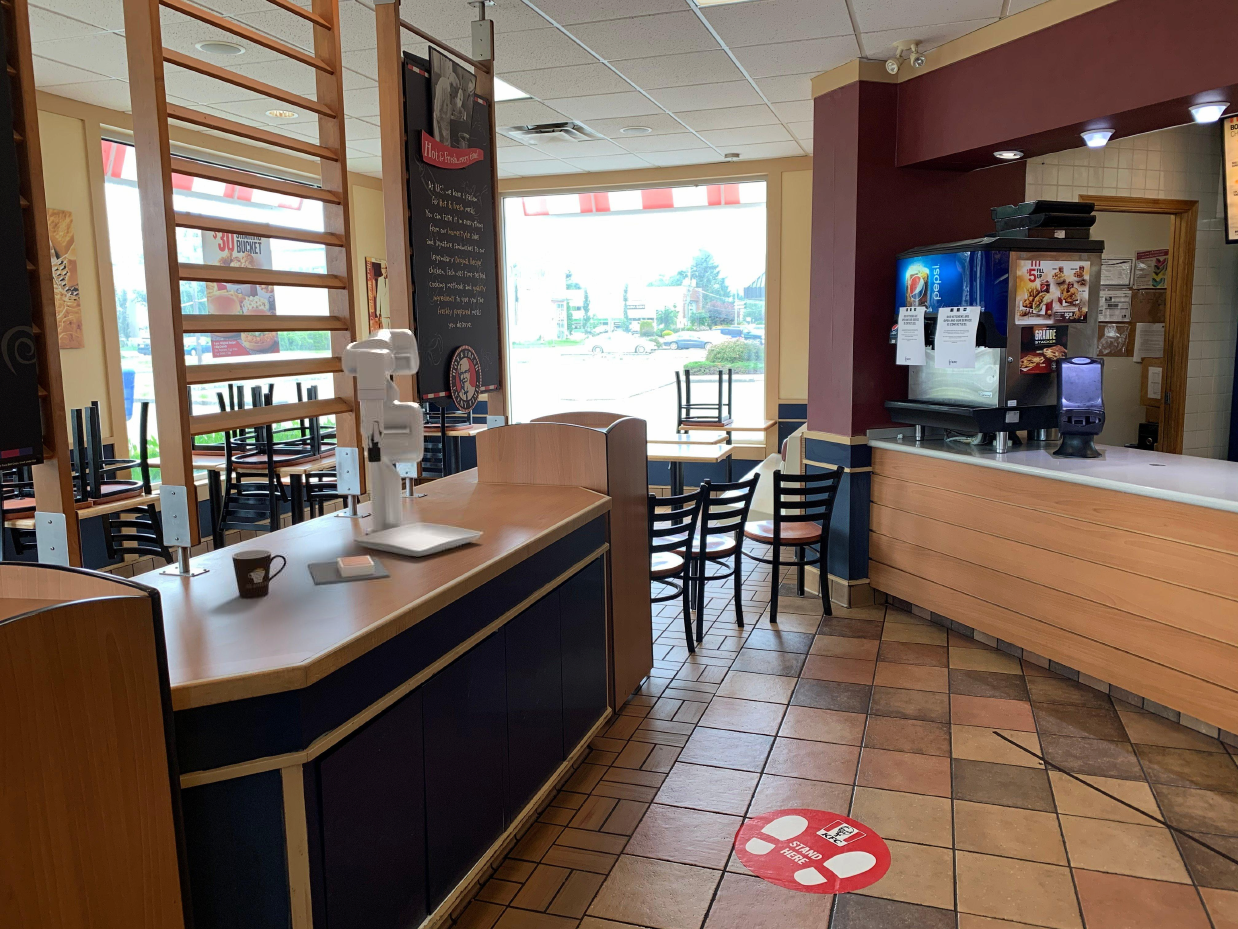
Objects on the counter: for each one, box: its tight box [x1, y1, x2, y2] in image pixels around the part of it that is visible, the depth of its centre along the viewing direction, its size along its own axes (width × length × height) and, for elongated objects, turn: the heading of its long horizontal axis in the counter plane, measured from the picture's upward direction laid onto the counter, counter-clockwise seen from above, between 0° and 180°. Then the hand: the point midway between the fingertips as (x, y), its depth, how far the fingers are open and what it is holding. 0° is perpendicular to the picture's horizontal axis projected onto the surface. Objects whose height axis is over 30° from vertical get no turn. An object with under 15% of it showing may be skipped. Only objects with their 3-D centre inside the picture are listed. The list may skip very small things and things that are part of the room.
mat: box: [307, 556, 390, 586], centre depth 231 cm, size 20×18×1 cm
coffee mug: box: [231, 549, 287, 600], centre depth 210 cm, size 12×9×10 cm
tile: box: [337, 555, 375, 577], centre depth 230 cm, size 3×8×10 cm
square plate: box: [353, 522, 484, 558], centre depth 260 cm, size 27×27×4 cm
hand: (374, 461), depth 243 cm, fingers closed
